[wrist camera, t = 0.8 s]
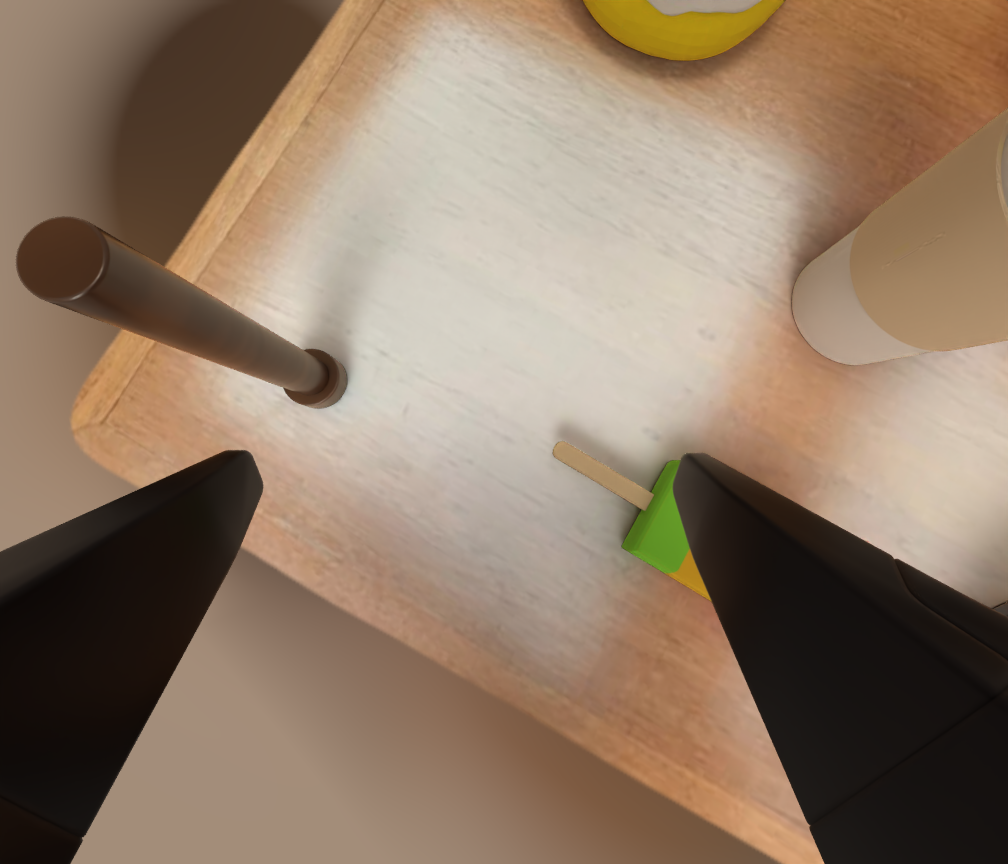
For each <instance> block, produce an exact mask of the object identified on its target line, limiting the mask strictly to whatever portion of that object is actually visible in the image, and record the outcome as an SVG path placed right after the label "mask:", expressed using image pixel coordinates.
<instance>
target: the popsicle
mask: <svg viewBox="0 0 1008 864" xmlns="http://www.w3.org/2000/svg"><path fill="white" fill-rule="evenodd" d="M553 455H554V457H555V458H557V459H558V460H560V461H562V462H563V463H565V464H567V465H568V466H570V467H572V468H573V469H575V470H577V471H578V472H580V473H582V474H583V475H585V476H587V477H588V478H590V479H592V480H593V481H595V482H597V483H598V484H600V485H602V486H604V487H605V488H607V489H609V490H610V491H612V492H614V493H615V494H617V495H619V496H620V497H622V498H624V499H625V500H627V501H629V502H630V503H632V504H634V505H635V506H637V507H639V508H640V509H642V510H641V512H640V513H639V515H638V517H637V519H636V521H635V522H634V524H633V526H632V528H631V530H630V531H629V533H628V535H627V537H626V539H625V541H624V542H623V544H622V546H621V547H622V548H623V549H625V550H626V551H628V552H630V553H631V554H633V555H635V556H637V557H638V558H640V559H642V560H643V561H645V562H647V563H648V564H650V565H652V566H653V567H655V568H657V569H658V570H660V571H662V572H663V573H665V574H666V575H668V576H670V577H671V578H673V579H675V580H676V581H678V582H680V583H681V584H683V585H685V586H686V587H688V588H690V589H691V590H693V591H695V592H696V593H698V594H700V595H701V596H703V597H705V598H706V599H708V600H710V601H711V599H710V597H709V594H708V592H707V590H706V587H705V585H704V583H703V580H702V578H701V576H700V574H699V571H698V569H697V567H696V564H695V562H694V559H693V557H692V554H691V551H690V548H689V545H688V541H687V538H686V535H685V531H684V528H683V525H682V522H681V518H680V515H679V512H678V508H677V505H676V502H675V498H674V495H673V481H674V478H675V475H676V472H677V469H678V466H679V463H680V460H672V461H670V462H668V463H667V465H666V466H665V468H664V470H663V472H662V474H661V475H660V477H659V479H658V481H657V483H656V484H655V486H654V488H653V490H652V492H649V491H647V490H646V489H644V488H642V487H641V486H639V485H637V484H636V483H634V482H632V481H630V480H629V479H627V478H625V477H624V476H622V475H620V474H619V473H617V472H615V471H614V470H612V469H610V468H609V467H607V466H605V465H604V464H602V463H600V462H599V461H597V460H595V459H594V458H592V457H590V456H588V455H587V454H585V453H583V452H582V451H580V450H578V449H577V448H575V447H573V446H572V445H570V444H568V443H566V442H564V441H561V442H558V443H557V444H556V446H555V447H554V449H553ZM711 602H712V601H711Z"/></svg>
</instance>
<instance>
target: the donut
mask: <svg viewBox="0 0 1008 864" xmlns="http://www.w3.org/2000/svg"><path fill="white" fill-rule="evenodd" d="M784 1H785V0H583V2H584V4H585V5H586V7H587V9H588V10H589V12H590V13H591V15H592V16H593V17H594V19H595V20H596V21H597V22H598V23H599V25H600V26H601V27H602V28H603V29H604V30H605V31H606V32H607V33H608V34H610V35H611V36H612V37H613V38H615V39H617V40H618V41H620V42H621V43H623V44H624V45H626V46H628V47H631V48H633V49H635V50H638V51H640V52H643V53H645V54H648V55H652V56H656V57H661V58H665V59H669V60H679V61H691V60H699V59H705V58H709V57H713V56H715V55H718V54H721V53H723V52H725V51H727V50H728V49H730V48H732V47H734V46H736V45H737V44H739V43H740V42H741V41H743V40H744V39H745V38H747V37H748V36H749V35H751V34H752V33H753V32H754V31H755V30H757V29H758V28H759V27H760V26H761V25H762V24H763V23H764V22H765V21H766V20H767V19H768V18H769V17H770V16H771V15H772V14H773V13H774V12H775V11H776V10H777V9H778V8H779V7H780V6H781V5H782V4H783V3H784Z"/></svg>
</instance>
